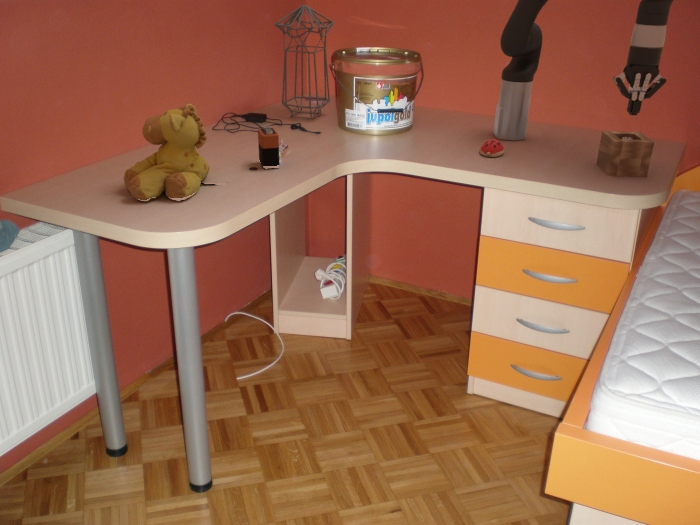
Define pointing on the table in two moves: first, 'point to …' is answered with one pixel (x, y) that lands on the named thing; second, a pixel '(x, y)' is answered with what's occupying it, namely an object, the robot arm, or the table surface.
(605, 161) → the socket block
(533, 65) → the robot arm
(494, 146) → the ladybug figurine
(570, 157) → the table surface
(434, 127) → the table surface
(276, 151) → the battery
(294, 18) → the geometric lantern
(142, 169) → the giraffe plush
